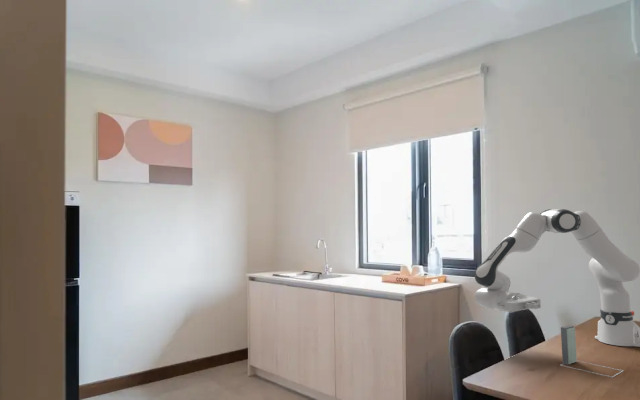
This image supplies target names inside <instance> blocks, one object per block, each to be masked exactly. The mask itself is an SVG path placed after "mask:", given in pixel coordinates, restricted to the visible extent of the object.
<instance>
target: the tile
mask: <svg viewBox="0 0 640 400" xmlns="http://www.w3.org/2000/svg"><path fill="white" fill-rule="evenodd" d="M560 335H561V336H560V337H561V339H560V340H561V354H562V358H561V359H562V364H563V365H565V366H566V365H567V366H568V365H571V364H574V363H576V362H578V359H577V357H578V355H577V343H576V338H577V337H576V327H575V326H574V325H572V324H568V325H563V326H561V327H560Z"/></svg>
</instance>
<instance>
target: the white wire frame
mask: <svg viewBox="0 0 640 400" xmlns="http://www.w3.org/2000/svg"><path fill="white" fill-rule="evenodd" d="M578 362H579V363H584V364H585V363H586V364H589V365H593V366H598V367H602V368H607V369H612V370H617V371H619V372H618V373H616V374H614V375H613V376H610V375H605V374H602V373H599V372H593V371H589V370H584V369H581V368H575V367H572V366H568V365H567V366H566V365H564V364H563V363H560V364H559V366H561V367H564V368H565V367H566V368H570V369H575V370H579V371H581V372H587V373H590V374H596V375H600V376H603V377H609V378H614V377H616V376H617V375H619V374H622V373H623V372H624V370H623V369H618V368H613V367H608V366H604V365H599V364H595V363H592V362H591V363H590V362H587V361H586V362H585V361H581V360H578Z"/></svg>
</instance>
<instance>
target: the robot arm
mask: <svg viewBox="0 0 640 400" xmlns="http://www.w3.org/2000/svg"><path fill="white" fill-rule="evenodd" d="M545 232H551V233H555V234H557V233H558V234H559V233H562V234H567V233H570V232H571V233H572V234H573V236H574V238H575V239H576V241H577V242H578V244H579V245H580V246H581V248H582V249H583V251H584V252H585V254H588V256H590V257H591V258H590V261H588V270H589V271H590V273H592V275H593V277H594V279H595V281H596V284H597V287H598V290H599V297H600V311H599V315H600V319H599V320H598V321H597V335H594V339H595V340H598V341H599V342H601V343H603V344H608V345H611V346H612V345H613V346H619V347H639V348H640V326H639V325H638V324H637V323H636V322H635V321H634V316H635V312H634V310H631V301H630V300H631V299H630V294H629V292H628V291H627V289H626V288H625V286H624V284H623V283H624V282H626V283H627V282H633V281H635V280H637V278H639V276H640V266H639V264H638V262H636V261H635V260H633V259H632V258H630V257H628V255H626V254H625V253H624V252H623V251H622V250H621V249H619V247H617V246H616V245H615V244H614V243H613V242H612V241H611V239H609V237H608V236H607V235H606V233H605V232H604V230H603V229H602V227H601V226H600V225H599V223H598V222H597V221H596V220H595V218H593V217H592V216H591V215H590V214H589V213H588V211H584V210H576V211H574V212H573V211H571V210H569V209H563V208H549V209H546V210H543V211H541V212H537V211H530V212H527V214H525V216H523V218H522V219H521V220H520V221H519V223H517V226H516V227H515V229H514V230H513V231H512V233H510V234H509V235H508V236H505V237H504V238H503V239H502V240H501V241H500V242H499V243H498V244H497V245H496V246H495V248H494V249H493V250H492V251H491V253H490V254H489V255H488V256H487V258H486V259H485V260H484V261H483V262H481V264H479V265H478V266H477V267H476V269H475V270H474V280H475V281H476V283H477V284H478V285H480V286H481V287H480V288H479V289H476V291H475V293H474V298H475V302H476V304H477V305H478V306H480V307H483V308H485V309H490V310H498V311H500V312H504V313H505V312H506V313H510V314H511V313H515V312H520V311H524V310H529V309H534V310H537V309H541V308H542V305H541V299H540V298H538V297H536V296H532V295H523V293H520V292H513V291H511V292H510V291H509V290H510V286H511V280H510V277H509V276H508V275H506V274H505V273H504V272H502V271H501V270H498V268H499V266H501V264H502V263H503V261H504V260H505V259H506V258H507V256H509V255H510V254H512V253H527V252H530V251H532V250H533V249H534V248H535V247H536V245H537V244H538V243H539V240H540V239H541V237H542V235H544V233H545Z"/></svg>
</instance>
